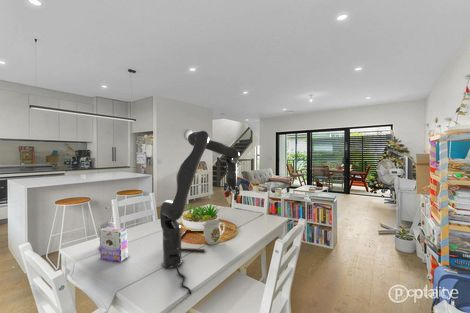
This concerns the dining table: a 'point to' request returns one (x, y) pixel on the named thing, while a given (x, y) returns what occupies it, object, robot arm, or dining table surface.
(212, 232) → the pitcher
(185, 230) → the bay
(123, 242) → the candy box
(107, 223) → the french press
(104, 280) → the dining table surface
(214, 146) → the robot arm
